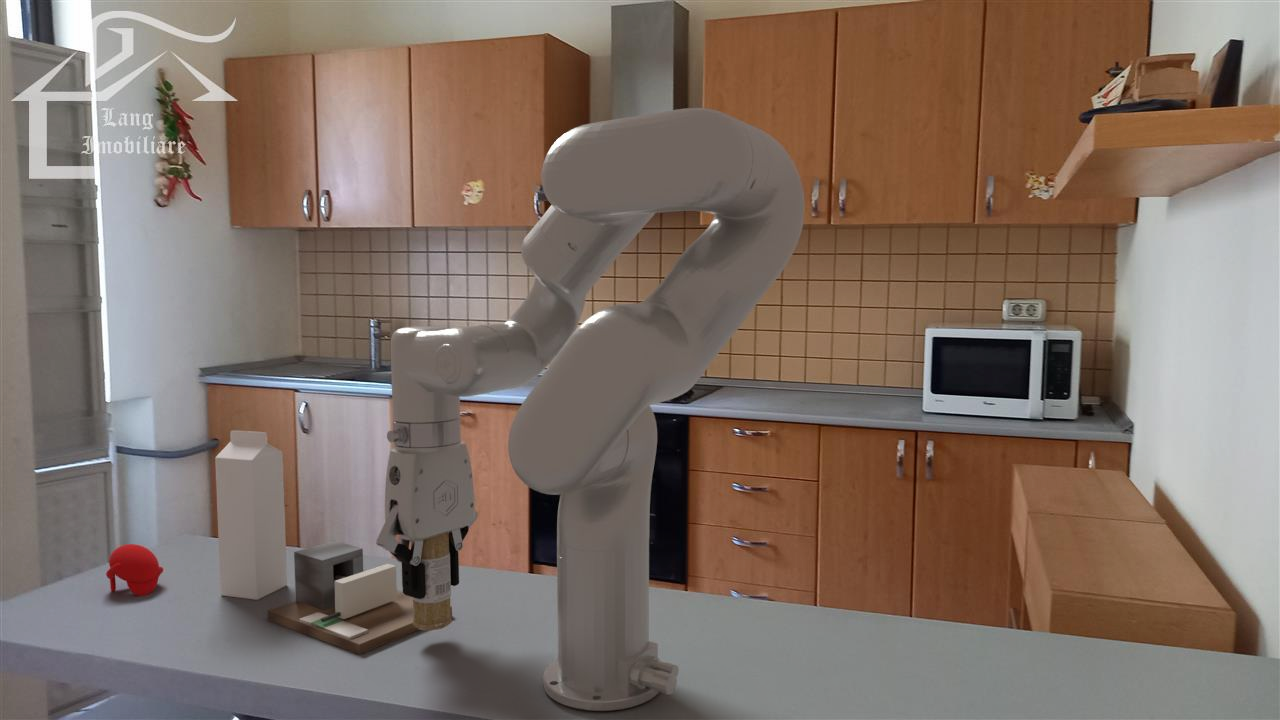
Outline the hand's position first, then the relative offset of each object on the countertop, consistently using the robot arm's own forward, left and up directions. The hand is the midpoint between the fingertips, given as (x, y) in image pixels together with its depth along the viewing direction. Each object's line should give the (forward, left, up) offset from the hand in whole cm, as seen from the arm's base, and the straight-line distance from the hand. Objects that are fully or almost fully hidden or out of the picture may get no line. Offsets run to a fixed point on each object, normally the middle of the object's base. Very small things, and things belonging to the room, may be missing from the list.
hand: (431, 588), depth 101 cm
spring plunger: (+14, +1, -5) cm, 15 cm away
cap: (+47, +11, -7) cm, 49 cm away
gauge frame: (+13, 0, -7) cm, 15 cm away
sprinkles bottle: (0, 0, -5) cm, 5 cm away
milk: (+33, +2, -7) cm, 34 cm away
